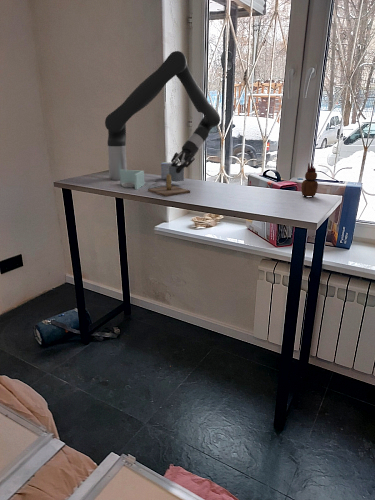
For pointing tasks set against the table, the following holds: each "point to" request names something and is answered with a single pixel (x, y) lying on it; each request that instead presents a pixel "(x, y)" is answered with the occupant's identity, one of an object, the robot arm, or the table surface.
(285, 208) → the table surface
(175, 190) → the post stand
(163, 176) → the medicine box
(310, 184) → the wooden figurine
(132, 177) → the l-shaped corner panel
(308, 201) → the table surface
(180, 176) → the collar
